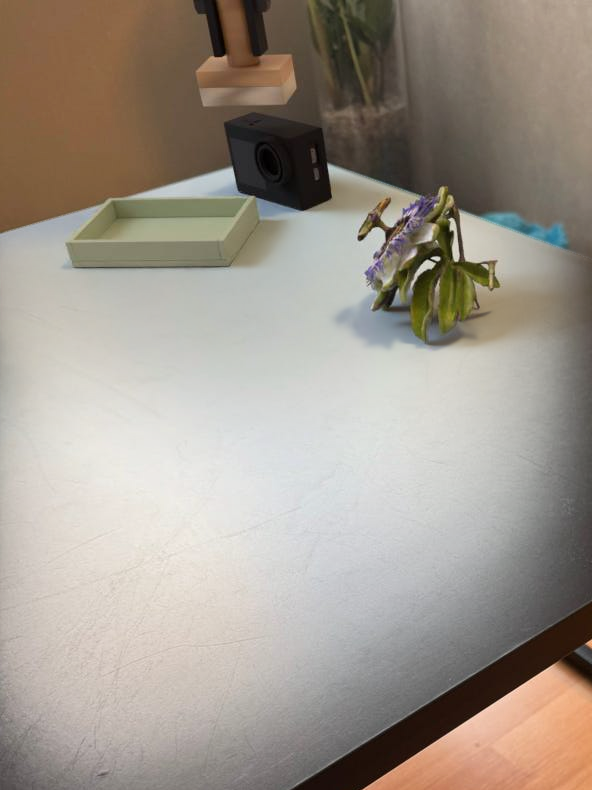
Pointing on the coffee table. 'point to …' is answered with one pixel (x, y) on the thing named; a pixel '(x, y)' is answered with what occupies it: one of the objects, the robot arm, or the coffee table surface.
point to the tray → (164, 232)
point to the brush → (243, 67)
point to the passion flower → (411, 249)
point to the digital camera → (279, 160)
